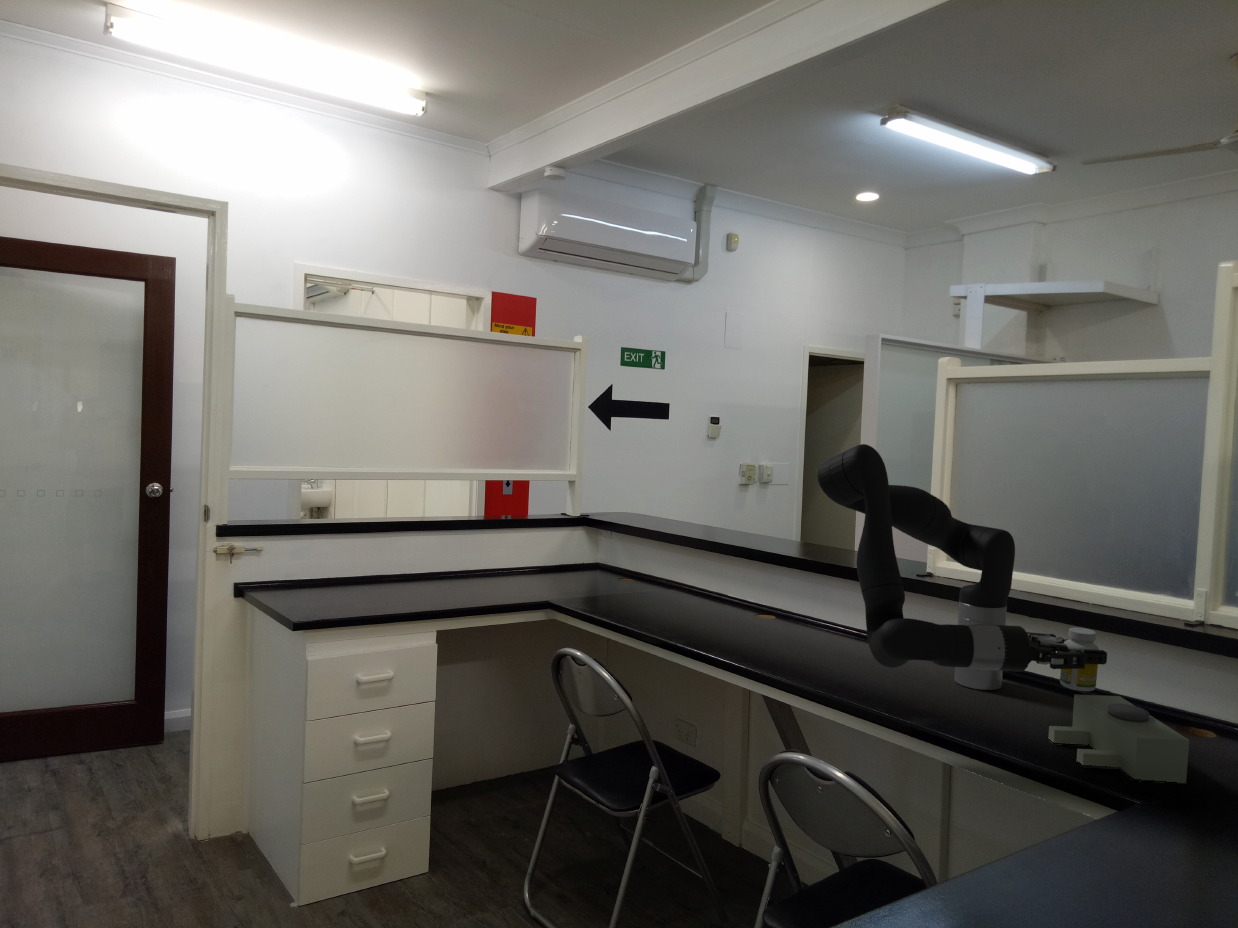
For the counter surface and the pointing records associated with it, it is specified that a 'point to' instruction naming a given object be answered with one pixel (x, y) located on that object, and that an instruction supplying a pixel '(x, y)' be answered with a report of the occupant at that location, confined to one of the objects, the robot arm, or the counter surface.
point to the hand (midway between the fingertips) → (1096, 651)
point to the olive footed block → (1124, 739)
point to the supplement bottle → (1088, 675)
